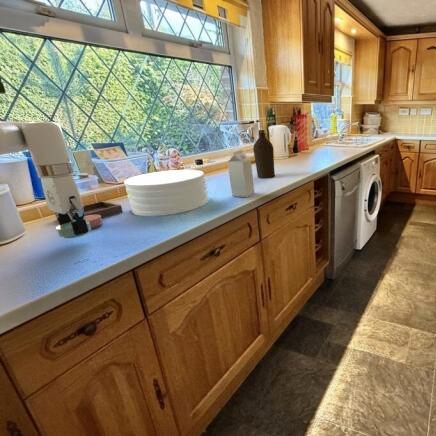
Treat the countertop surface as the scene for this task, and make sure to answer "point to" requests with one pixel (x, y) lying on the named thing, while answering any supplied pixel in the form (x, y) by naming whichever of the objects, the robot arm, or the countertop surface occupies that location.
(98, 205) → the tray
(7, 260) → the countertop surface
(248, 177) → the milk carton
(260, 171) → the olive oil
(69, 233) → the green disc
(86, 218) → the terracotta round puck
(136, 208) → the plate stack
